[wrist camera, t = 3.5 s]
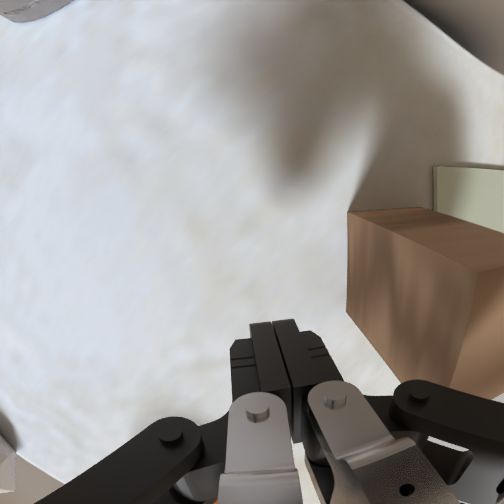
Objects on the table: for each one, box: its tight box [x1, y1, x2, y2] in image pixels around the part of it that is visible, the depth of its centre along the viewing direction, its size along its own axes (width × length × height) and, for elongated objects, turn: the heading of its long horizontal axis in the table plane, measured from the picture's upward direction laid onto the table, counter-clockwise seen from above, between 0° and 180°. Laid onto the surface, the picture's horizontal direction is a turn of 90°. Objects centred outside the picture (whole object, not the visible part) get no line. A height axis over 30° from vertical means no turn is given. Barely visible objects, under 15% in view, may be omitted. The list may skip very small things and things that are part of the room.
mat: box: [433, 166, 504, 233], centre depth 18 cm, size 11×12×1 cm
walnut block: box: [346, 207, 504, 400], centre depth 12 cm, size 6×5×10 cm
